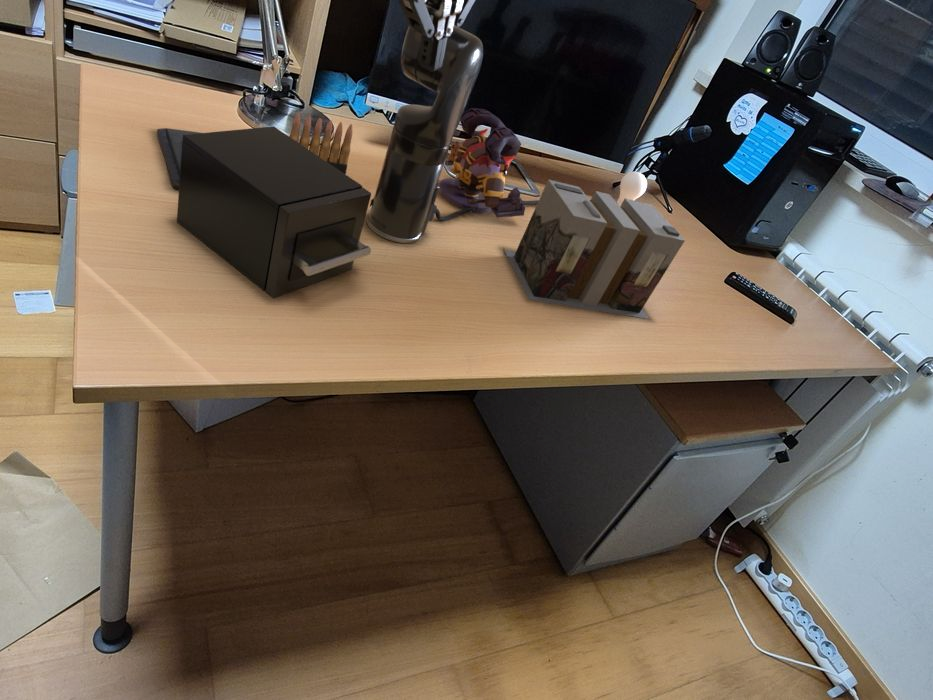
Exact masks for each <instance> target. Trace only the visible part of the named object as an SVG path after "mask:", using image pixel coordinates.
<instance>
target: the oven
mask: <svg viewBox="0 0 933 700" xmlns="http://www.w3.org/2000/svg"><path fill="white" fill-rule="evenodd" d="M289 136H290V135H288V134H286V133H285V132H283V131H282V130H280V129H279V128H277V127H276V126H264V127H253V128H242V129H231V130H222V131H210V132H199V133H198V134H188V135H183V139H182V140H183V141H182V152H181V167H180V182H179V190H178V196H177V197H178V198H177V210H176V211H177V213H176V223H177V224H178V225H179V226H181V227H182V228H183V229H185V230H186V231H187V232H188V233H190V234H191V235H192V236H193V237H195V238H196V239H197V240H198V241H200V242H201V243H202V244H204V245H205V246H206V247H207V248H209V250H211V251H212V252H214V253H215V254H216V255H217V256H218V257H220V258H221V259H222V260H223V261H225V262H226V263H227V264H229V265H230V266H231V267H233V269H235V270H236V271H238V272H239V273H240V274H241V275H243V276H244V277H245V278H246V279H248V280H249V281H250V282H251V283H253V284H254V285H255V286H256V287H258V288H259V289H261V290H262V291H263V292H266V285H267V279H268V273H269V267H270V261H271V255H272V249H273V243H274V237H275V232H276V226H277V220H278V214H279V208H280V206H284V205H288V204H293V203H297V202H302V201H306V200H311V199H315V198H320V197H324V196H329V195H333V194H337V193H342V192H346V191H351V190H355V189H360V188H364V187H363V185H362V184H360V183H359V182H358V181H356V180H355V179H353V178H352V177H350V176H349V175H347V173H346V174H344V173H343V172H341V171H340V170H338V169H337V168H335V167H334V166H332V165H331V164H329V163H328V162H326V161H325V160H323V159H322V158H320V157H319V156H317V155H316V154H314V153H313V152H311V151H310V150H309V148H308V149H307V148H305V147H304V146H302V145H301V144H299V142H296V141H295V140H293V139H292V138H290V137H289Z"/></svg>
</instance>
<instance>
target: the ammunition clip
mask: <svg viewBox="0 0 933 700" xmlns="http://www.w3.org/2000/svg"><path fill="white" fill-rule="evenodd" d="M300 128H301V115H300V113H299V112H297V114H295V117H294V119H293V122H292V126H291V130H290V133H289V135H288V136H289V137H290V138H292V139H293V140H295V141H296V142H298V143H299V144H301V145H302V146H304V147H305V148H307V149H308V150H310V151H311V152H313V153H314V154H316V155H317V156H319V157H320V158H322V159H323V160H325V161H326V162H328V163H329V164H331V165H332V166H334V167H335V168H337V169H338V170H340V171H341V172H343V173H344V174H346V175H347V169H348V162H349V158H350V154H351V144H352V138H353V124H352V123H351V124H349V126H348V127H347V129H346V132H345V134H344V137H343V122H342V121H340V122H339V123H338V125H337V127H336V129H335V132H334V137H333V139H332V134H333V120H332V119H329V121H328V122H327V124H326V126H325V129H324V132H323V135H322V131H323V130H322V129H323V120H322V118H321V117H319V118H318V119H317V121H316V123H315V126H314V129H313V133H312V137H311V129H312V117H311V115H308V116H307V117H306V119H305V121H304V124H303V127H302V128H303V129H302V131H301V135H300ZM322 136H323V137H322ZM310 137H311V139H310ZM342 137H343V141H342ZM321 138H322V140H321ZM331 140H332V141H331ZM341 143H342V144H341Z"/></svg>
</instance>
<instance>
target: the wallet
mask: <svg viewBox="0 0 933 700" xmlns="http://www.w3.org/2000/svg"><path fill="white" fill-rule="evenodd" d="M198 133H200V132H198V131H191V130H184V129H177V128H169V127H168V128H167V127H162V128H157V129H156V134H157V139H158V141H159V145H160V148H161V151H162V154H163V158H164V160H165V164H166V169H167V171H168V176H169V180H170V184H171V185H172V187H173V189H176V190H178V191H179V182H180V167H181V152H182V141H183V140H182V139H183V135H188V134H198Z"/></svg>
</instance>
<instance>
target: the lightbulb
mask: <svg viewBox="0 0 933 700" xmlns="http://www.w3.org/2000/svg"><path fill="white" fill-rule="evenodd" d="M619 184H620V185H619V196H618V199H617V201H616V202H617V204H618V205H619V206H621V204H622V202H623V201H624V199H625V198H626V199H630V200H634V201H636V200H637V199H638V198H640V197H641V196H642V195H643V194H644V193H645V192H646V190H647V187H648V180H647V179H646V177H645V175H644V174H643V173H642V172H639V171H629V172H628V173H626V174H624V175H623V176H622V178H621V180H620V183H619Z"/></svg>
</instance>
